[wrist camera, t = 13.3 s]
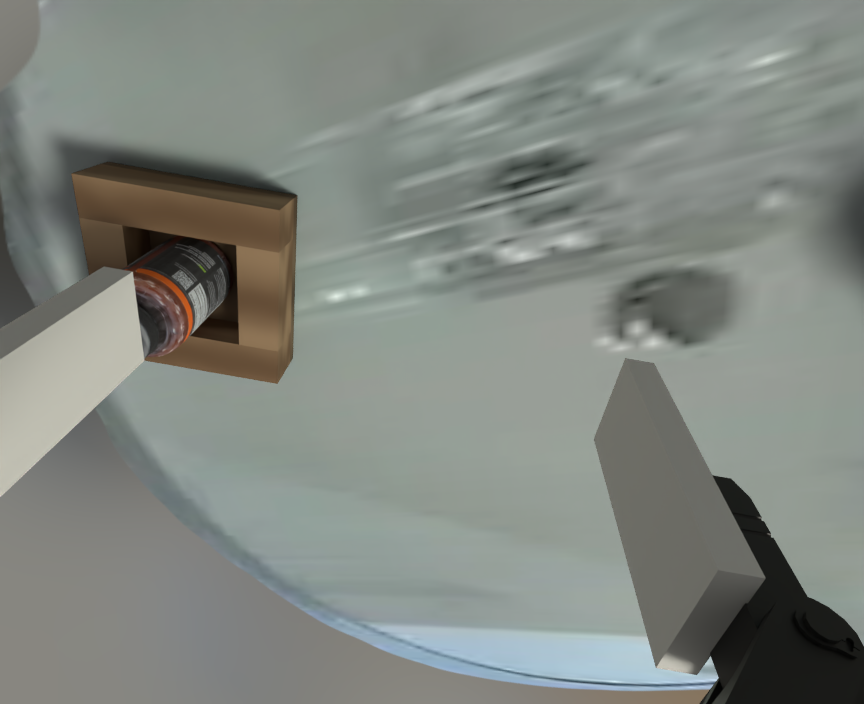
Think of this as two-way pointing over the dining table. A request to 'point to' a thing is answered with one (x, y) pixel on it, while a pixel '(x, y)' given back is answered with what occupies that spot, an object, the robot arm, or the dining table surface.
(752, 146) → the dining table surface
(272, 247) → the holder block
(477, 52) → the dining table surface
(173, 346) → the supplement bottle
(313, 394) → the dining table surface
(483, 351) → the dining table surface
